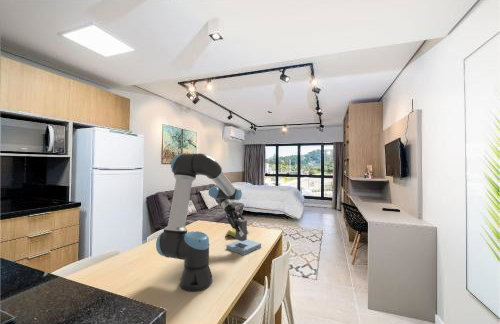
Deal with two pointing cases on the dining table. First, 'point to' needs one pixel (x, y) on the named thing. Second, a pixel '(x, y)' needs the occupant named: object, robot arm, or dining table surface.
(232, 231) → the plastic component
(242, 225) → the servo block
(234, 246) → the plate
